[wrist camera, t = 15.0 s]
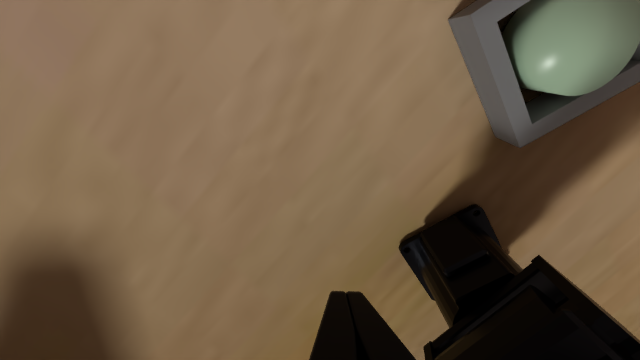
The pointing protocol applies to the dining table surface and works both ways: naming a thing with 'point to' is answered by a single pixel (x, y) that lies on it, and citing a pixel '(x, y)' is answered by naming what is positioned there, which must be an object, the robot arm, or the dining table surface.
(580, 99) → the button housing
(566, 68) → the button
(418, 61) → the dining table surface
